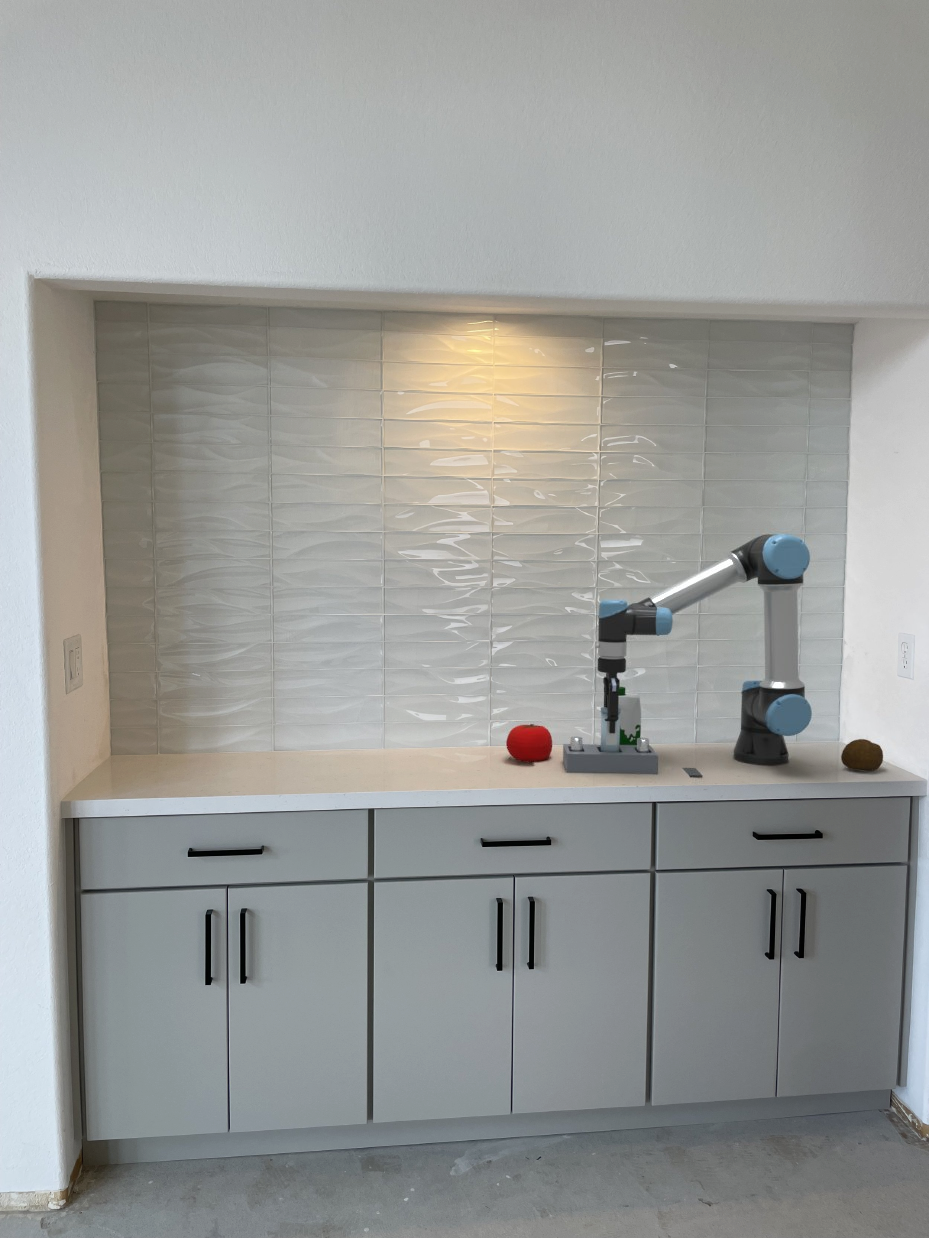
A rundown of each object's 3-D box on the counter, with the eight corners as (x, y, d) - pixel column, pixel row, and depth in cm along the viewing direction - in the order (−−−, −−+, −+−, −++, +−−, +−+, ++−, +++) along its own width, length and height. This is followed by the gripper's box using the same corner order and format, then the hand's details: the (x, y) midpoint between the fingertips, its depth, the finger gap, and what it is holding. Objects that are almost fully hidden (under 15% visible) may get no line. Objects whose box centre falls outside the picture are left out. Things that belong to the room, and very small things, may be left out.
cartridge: (618, 764, 247) (619, 706, 245) (620, 769, 241) (622, 710, 240) (598, 764, 247) (599, 706, 246) (600, 769, 242) (601, 710, 240)
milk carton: (609, 751, 268) (610, 684, 266) (640, 753, 266) (641, 686, 265) (607, 758, 260) (609, 689, 258) (639, 759, 258) (641, 690, 256)
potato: (892, 774, 245) (894, 742, 244) (849, 774, 244) (851, 742, 243) (877, 766, 253) (878, 736, 252) (835, 766, 252) (837, 736, 252)
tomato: (544, 768, 247) (545, 730, 246) (500, 764, 251) (500, 727, 250) (557, 757, 260) (558, 721, 259) (515, 753, 265) (516, 718, 264)
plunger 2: (647, 762, 245) (648, 737, 245) (649, 765, 242) (650, 740, 242) (635, 762, 245) (636, 737, 245) (637, 765, 242) (638, 740, 242)
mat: (695, 770, 247) (695, 767, 247) (702, 777, 239) (702, 775, 239) (666, 769, 247) (666, 767, 247) (672, 777, 239) (672, 774, 239)
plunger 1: (581, 761, 246) (581, 736, 245) (582, 764, 243) (583, 739, 242) (569, 760, 246) (570, 736, 245) (570, 763, 243) (571, 738, 242)
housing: (649, 766, 250) (650, 745, 249) (657, 777, 238) (658, 755, 237) (562, 765, 250) (563, 743, 250) (566, 776, 238) (567, 753, 238)
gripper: (594, 652, 251) (592, 735, 253) (601, 661, 233) (599, 749, 235) (621, 653, 250) (619, 735, 252) (630, 661, 233) (628, 750, 234)
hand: (610, 742), depth 244 cm, fingers closed on cartridge, 5 cm apart
